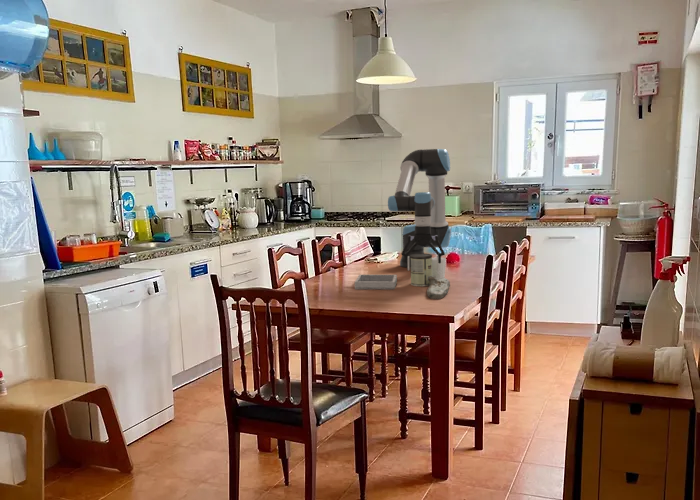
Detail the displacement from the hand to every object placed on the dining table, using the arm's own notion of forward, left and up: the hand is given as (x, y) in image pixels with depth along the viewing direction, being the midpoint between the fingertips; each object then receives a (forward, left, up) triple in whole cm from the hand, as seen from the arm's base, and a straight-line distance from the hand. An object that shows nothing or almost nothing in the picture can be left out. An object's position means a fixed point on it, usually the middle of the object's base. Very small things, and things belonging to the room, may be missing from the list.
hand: (423, 270), depth 282 cm
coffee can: (0, -1, -7) cm, 7 cm away
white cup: (-15, +7, -7) cm, 18 cm away
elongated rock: (+14, +7, -8) cm, 17 cm away
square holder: (+3, -22, -7) cm, 23 cm away
